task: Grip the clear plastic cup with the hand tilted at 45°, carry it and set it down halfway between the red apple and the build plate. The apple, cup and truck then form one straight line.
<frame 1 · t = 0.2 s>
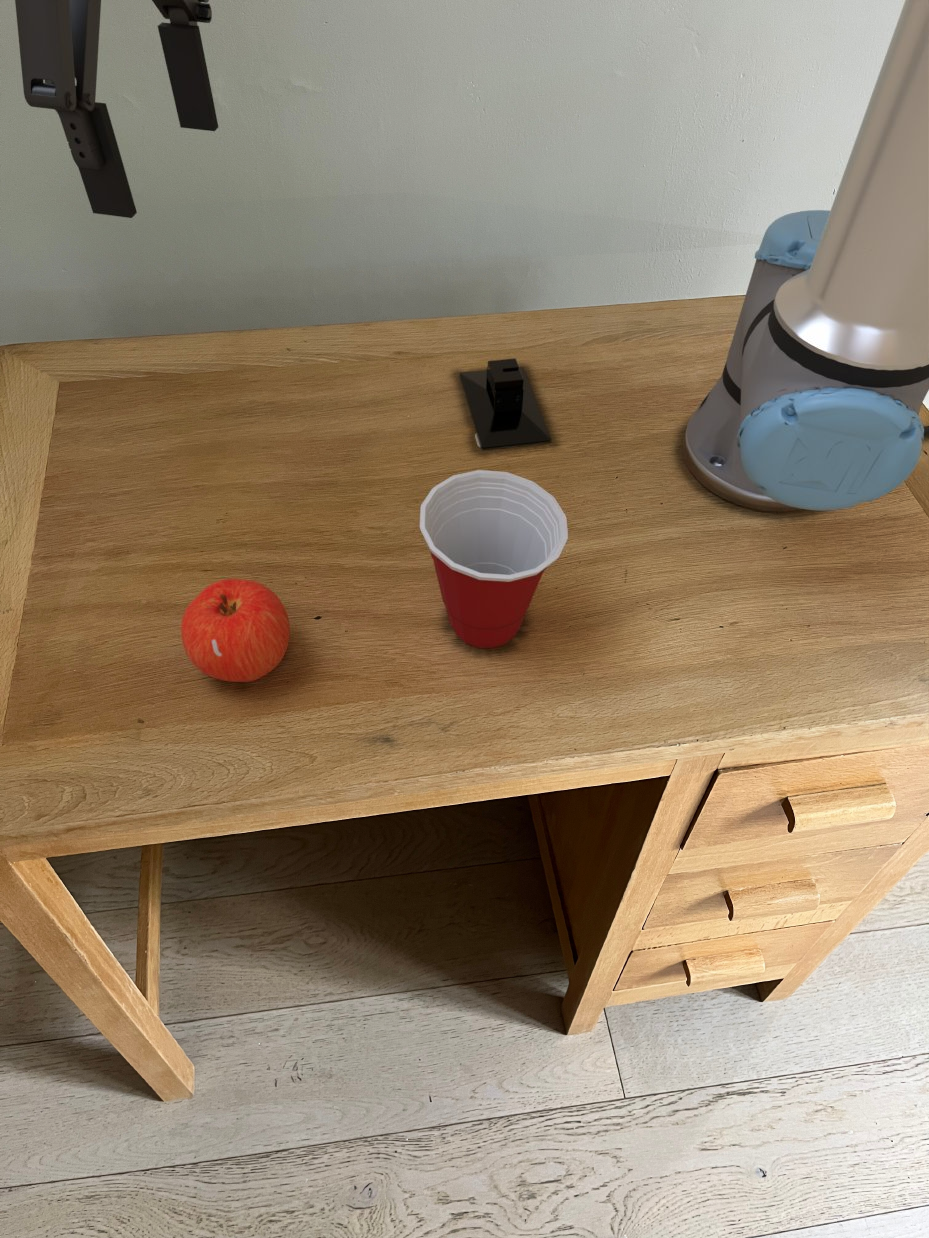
hand: (160, 168, 60), 28 cm above the table, tool pointing down, fingers open, 13 cm apart
plastic cup: (487, 623, 71), on the table
apple: (246, 660, 68), on the table
build plate: (503, 409, 88), on the table
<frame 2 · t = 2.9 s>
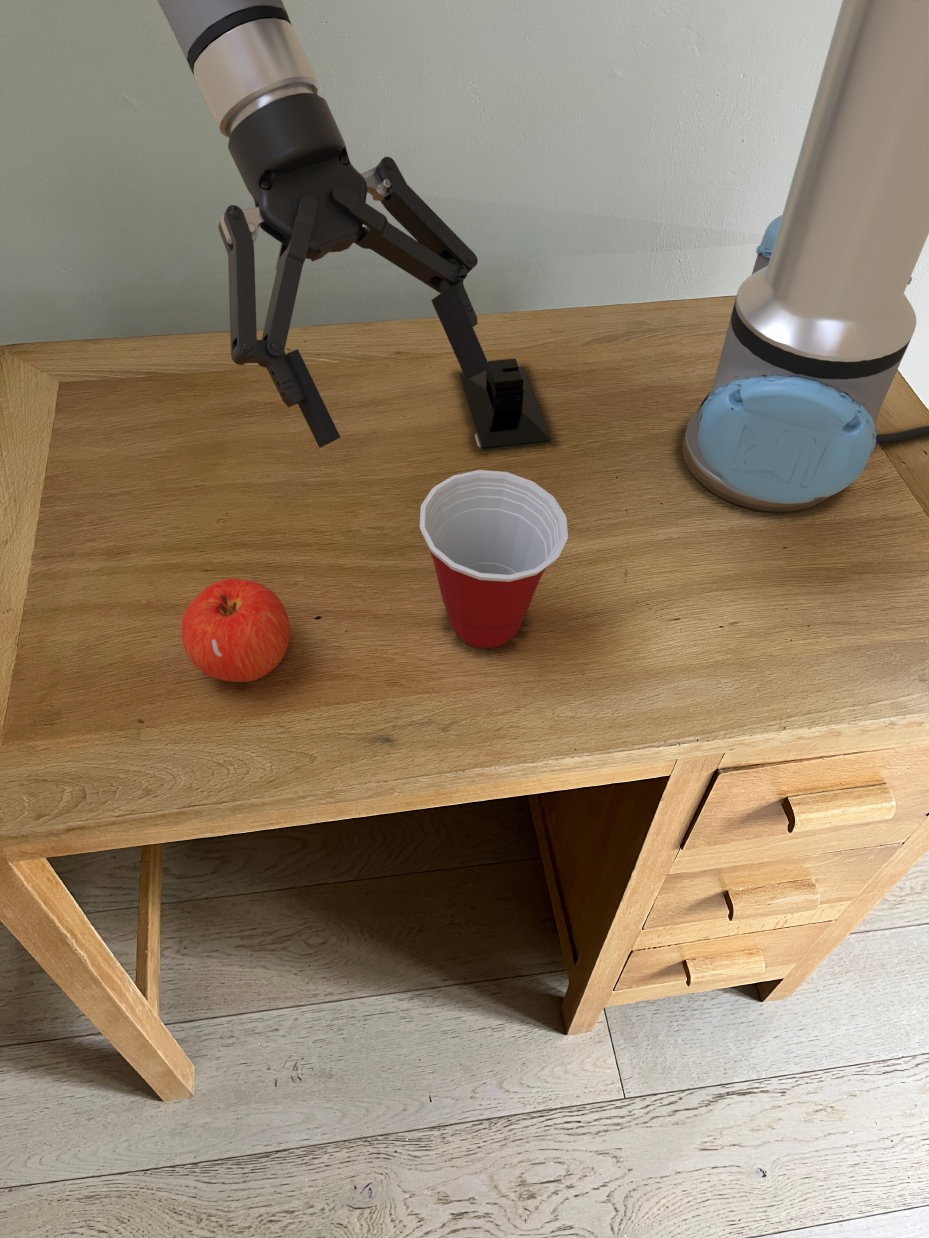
hand: (407, 407, 64), 15 cm above the table, tool tilted 45°, fingers open, 13 cm apart
nothing on the table moved.
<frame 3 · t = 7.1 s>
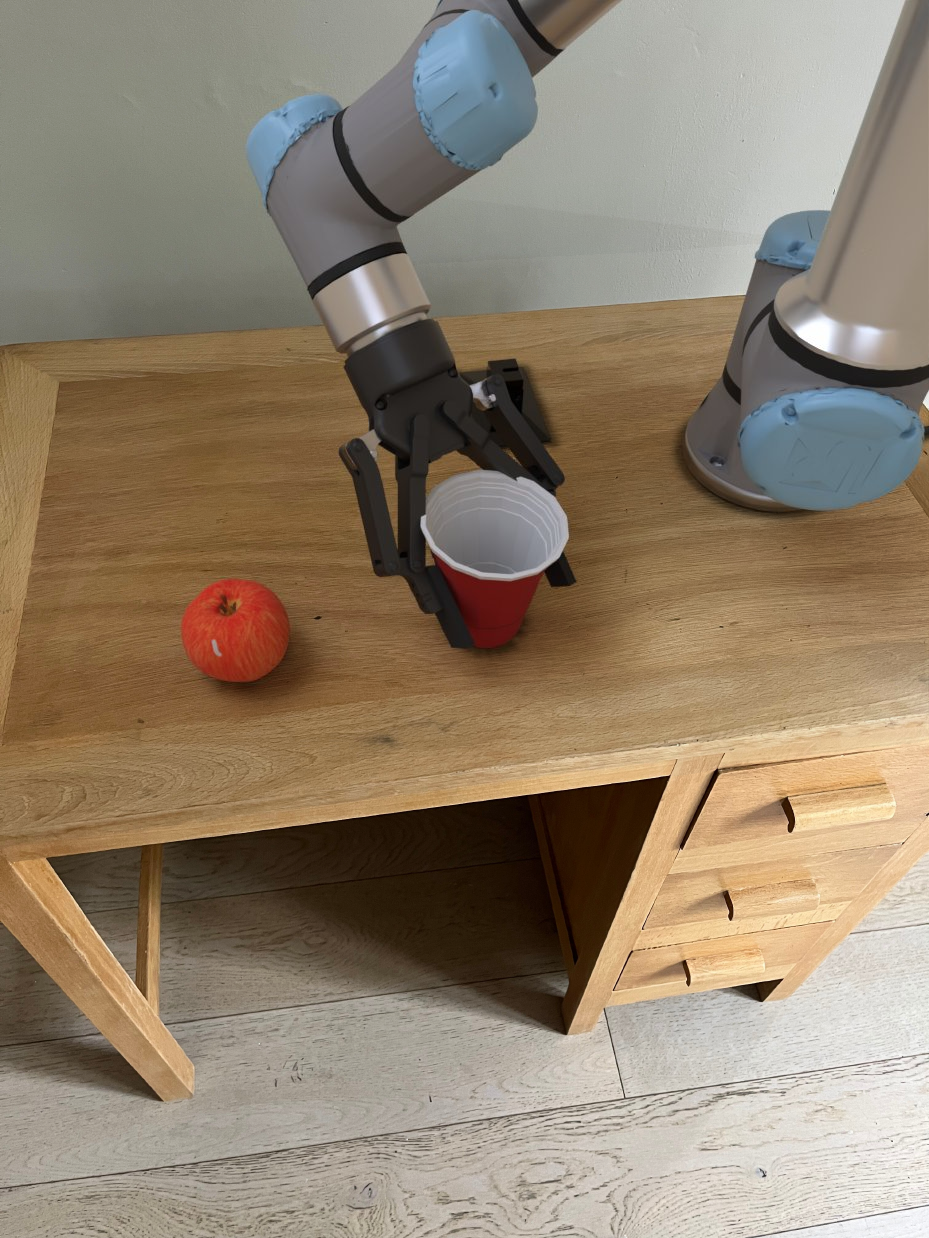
hand: (515, 614, 66), 4 cm above the table, tool tilted 45°, fingers closed on plastic cup, 9 cm apart
plastic cup: (487, 623, 71), on the table, touching gripper
everything else where it was.
when the fingers open (4 cm above the table, at t = 15.6 s): plastic cup stays where it is, on the table.
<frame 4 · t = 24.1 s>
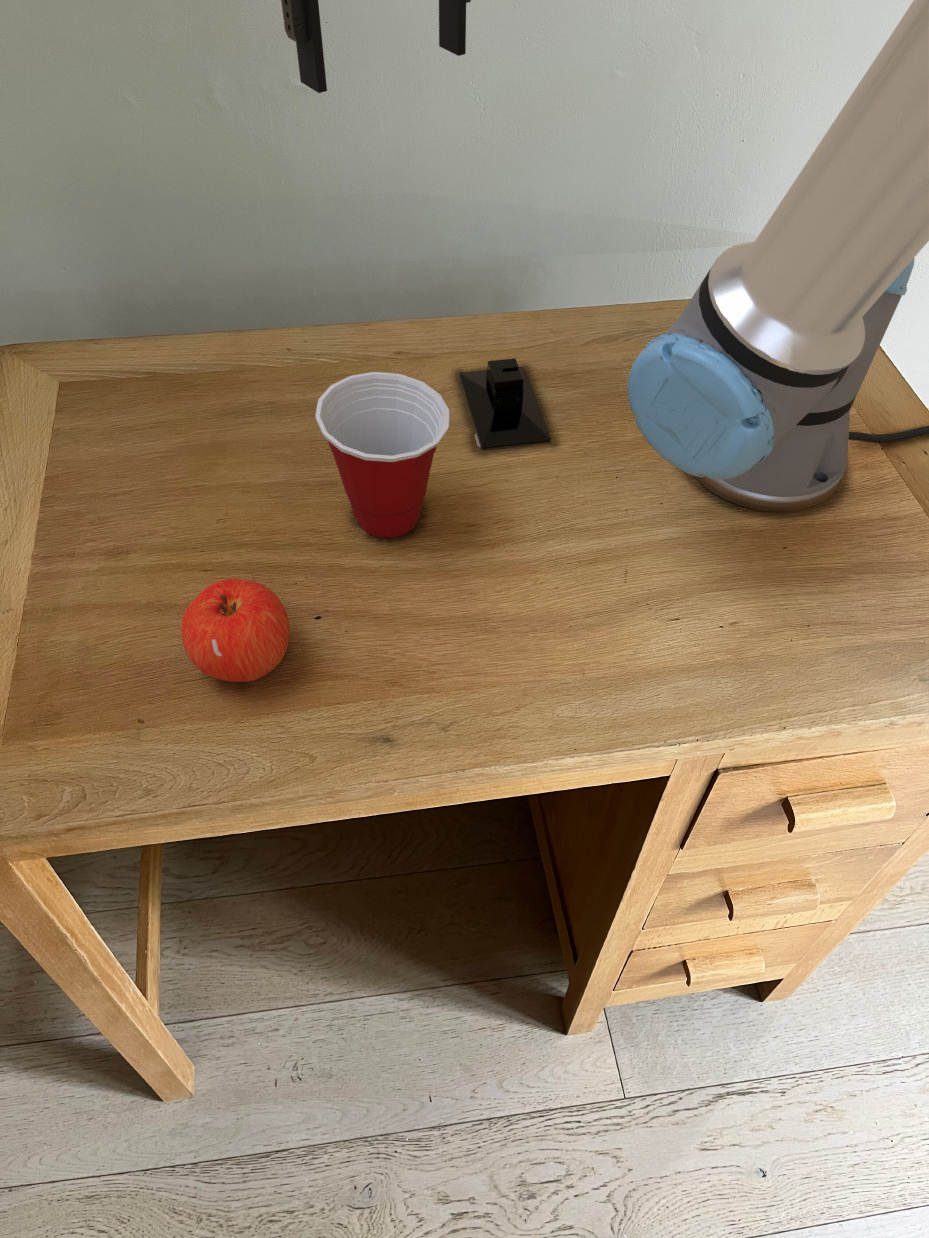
hand: (385, 68, 70), 29 cm above the table, tool pointing down, fingers open, 13 cm apart
plastic cup: (390, 517, 78), on the table
everything else where it was.
at the end: plastic cup 0.1 cm from the target spot on the table beside the build plate, on the table; plastic cup tilted 0°; apple moved 0.2 cm from its start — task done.
